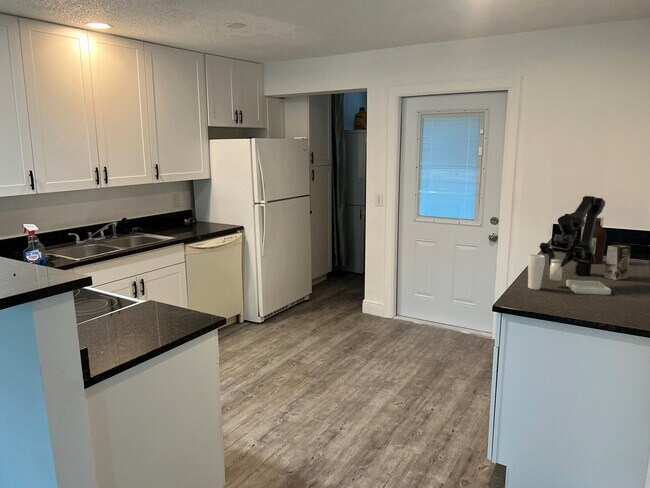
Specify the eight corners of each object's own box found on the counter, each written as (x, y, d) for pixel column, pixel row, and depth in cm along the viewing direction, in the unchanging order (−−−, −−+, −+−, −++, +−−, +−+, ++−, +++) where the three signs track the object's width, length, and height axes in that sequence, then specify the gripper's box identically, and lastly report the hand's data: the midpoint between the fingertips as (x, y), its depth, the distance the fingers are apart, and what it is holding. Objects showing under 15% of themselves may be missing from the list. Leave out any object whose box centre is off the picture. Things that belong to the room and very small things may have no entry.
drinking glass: (541, 287, 226) (544, 254, 223) (542, 291, 220) (545, 257, 217) (525, 285, 228) (528, 253, 226) (526, 289, 222) (529, 256, 219)
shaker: (559, 278, 229) (561, 258, 227) (562, 280, 224) (564, 261, 222) (548, 277, 229) (549, 258, 228) (551, 280, 225) (552, 260, 223)
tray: (598, 286, 228) (599, 281, 227) (610, 295, 214) (610, 289, 214) (566, 285, 230) (566, 279, 230) (575, 293, 217) (576, 287, 216)
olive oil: (591, 259, 285) (595, 216, 281) (608, 263, 276) (613, 218, 271) (577, 261, 281) (582, 217, 276) (594, 264, 271) (599, 219, 267)
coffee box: (616, 280, 239) (620, 247, 236) (603, 277, 244) (607, 245, 241) (627, 278, 243) (631, 246, 240) (615, 275, 249) (618, 243, 246)
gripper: (542, 225, 232) (530, 251, 226) (585, 230, 218) (573, 258, 213) (548, 239, 238) (536, 266, 233) (590, 245, 225) (578, 273, 220)
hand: (555, 265), depth 224 cm, fingers closed on shaker, 5 cm apart
